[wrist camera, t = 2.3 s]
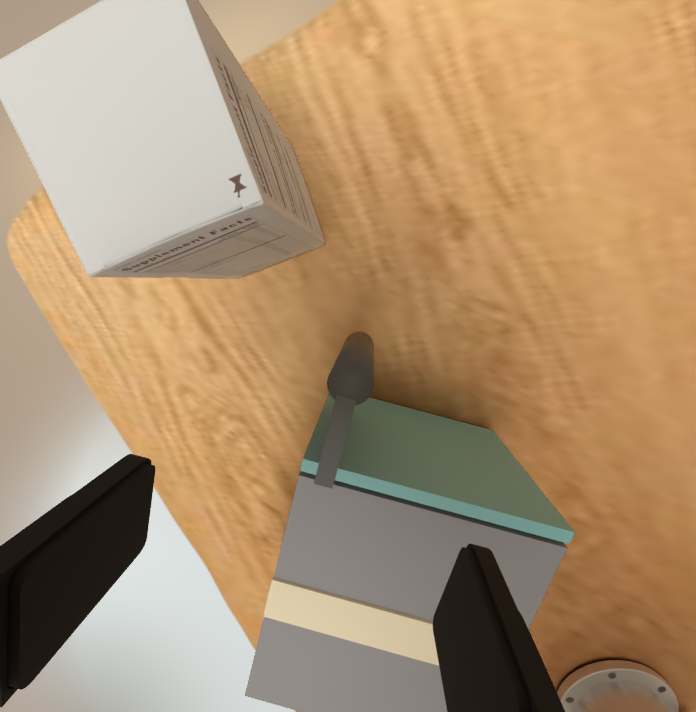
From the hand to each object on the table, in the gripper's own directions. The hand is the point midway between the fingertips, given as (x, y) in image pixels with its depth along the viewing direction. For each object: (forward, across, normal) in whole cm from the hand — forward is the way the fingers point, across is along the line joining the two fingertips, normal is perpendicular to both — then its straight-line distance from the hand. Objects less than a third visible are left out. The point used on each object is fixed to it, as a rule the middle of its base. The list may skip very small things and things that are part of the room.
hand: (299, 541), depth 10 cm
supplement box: (+24, +11, -11) cm, 28 cm away
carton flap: (+22, -7, 0) cm, 23 cm away
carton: (+23, -7, +13) cm, 27 cm away
